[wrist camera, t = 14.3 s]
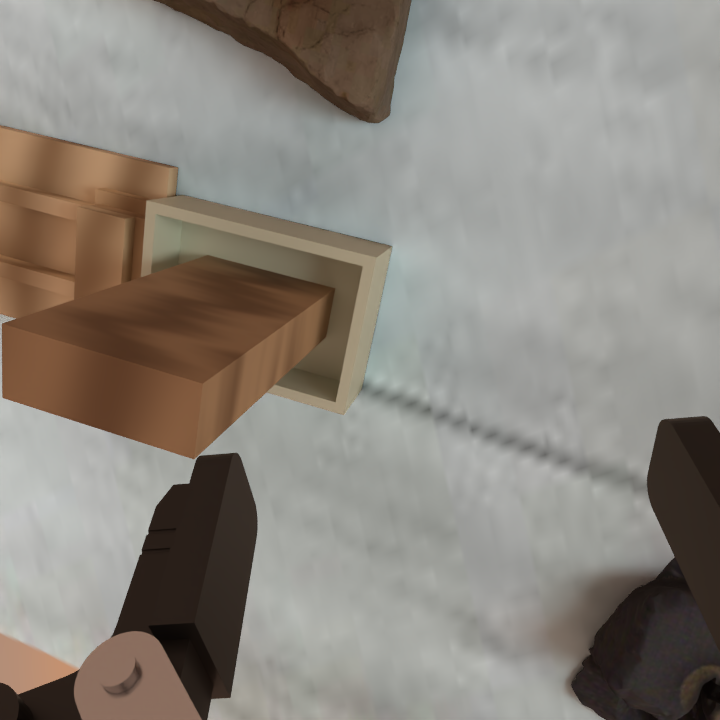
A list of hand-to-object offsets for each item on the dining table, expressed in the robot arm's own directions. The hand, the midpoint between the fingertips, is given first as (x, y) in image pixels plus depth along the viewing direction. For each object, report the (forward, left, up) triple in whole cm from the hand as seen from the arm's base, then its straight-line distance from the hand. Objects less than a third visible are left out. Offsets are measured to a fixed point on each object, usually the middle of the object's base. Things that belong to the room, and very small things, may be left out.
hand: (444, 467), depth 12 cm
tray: (-3, -13, -24) cm, 28 cm away
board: (-3, -13, -23) cm, 27 cm away
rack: (-12, -26, -24) cm, 37 cm away
